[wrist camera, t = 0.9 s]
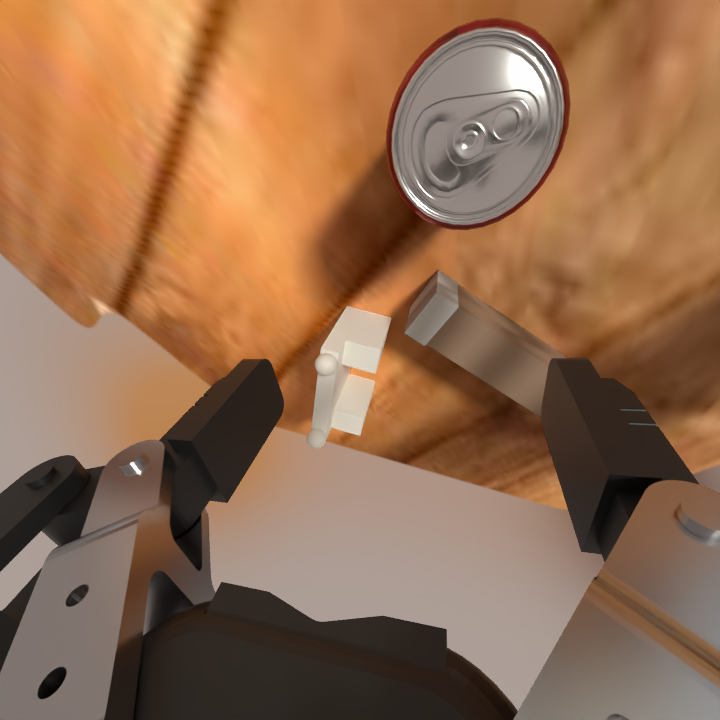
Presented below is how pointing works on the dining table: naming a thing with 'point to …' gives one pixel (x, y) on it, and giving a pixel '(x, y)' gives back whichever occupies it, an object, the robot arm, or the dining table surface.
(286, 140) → the dining table surface
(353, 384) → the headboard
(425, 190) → the soda can
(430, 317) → the rail
